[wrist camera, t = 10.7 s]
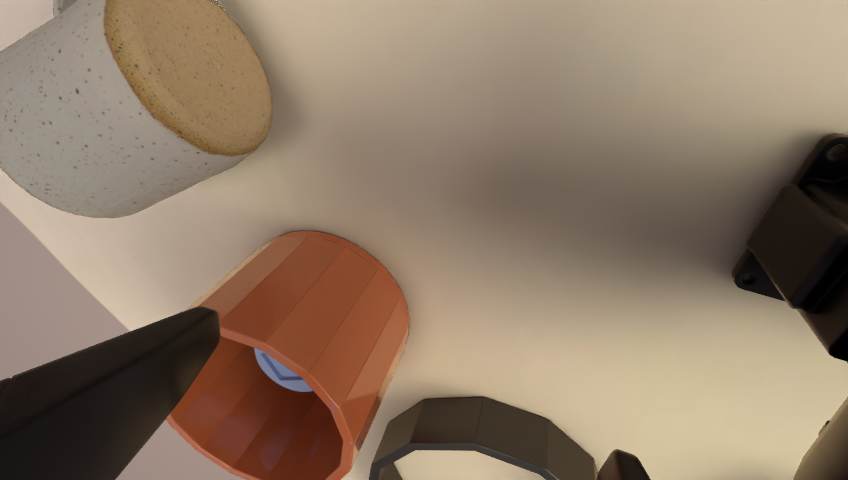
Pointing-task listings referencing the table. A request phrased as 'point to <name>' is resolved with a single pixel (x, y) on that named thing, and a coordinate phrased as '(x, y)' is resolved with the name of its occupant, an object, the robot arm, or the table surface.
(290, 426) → the terracotta cup
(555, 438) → the dark grey ring
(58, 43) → the ceramic mug
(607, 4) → the table surface
